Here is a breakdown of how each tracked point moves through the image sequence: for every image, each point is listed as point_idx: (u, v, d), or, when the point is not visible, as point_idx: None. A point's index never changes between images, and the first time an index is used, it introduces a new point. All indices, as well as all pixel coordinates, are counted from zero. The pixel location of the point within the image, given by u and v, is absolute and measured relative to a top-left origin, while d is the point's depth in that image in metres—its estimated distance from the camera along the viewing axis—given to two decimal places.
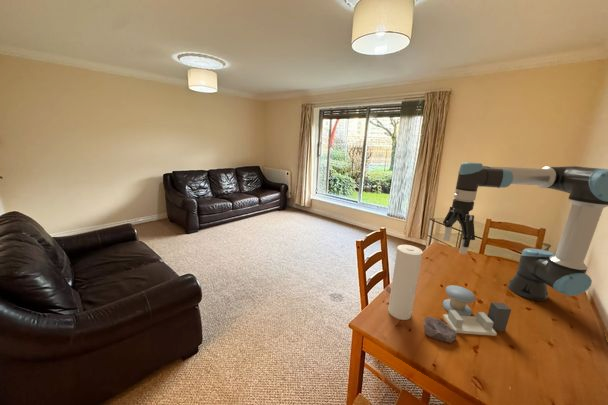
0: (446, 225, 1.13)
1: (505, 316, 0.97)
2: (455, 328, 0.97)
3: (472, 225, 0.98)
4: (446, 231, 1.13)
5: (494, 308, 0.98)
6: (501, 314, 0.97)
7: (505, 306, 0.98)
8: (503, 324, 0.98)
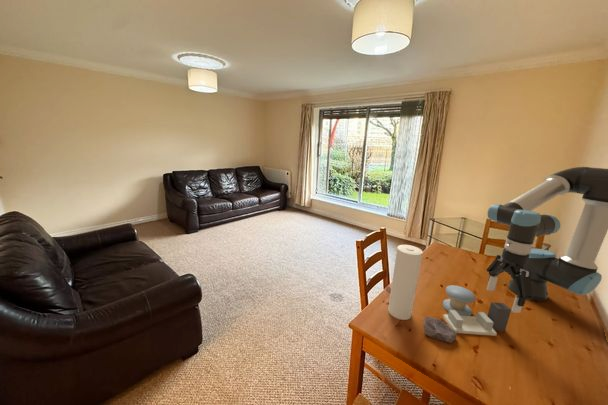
0: (491, 274, 1.02)
1: (505, 316, 0.97)
2: (455, 328, 0.97)
3: (529, 283, 0.87)
4: (491, 281, 1.03)
5: (494, 308, 0.98)
6: (501, 314, 0.97)
7: (505, 306, 0.98)
8: (503, 324, 0.98)
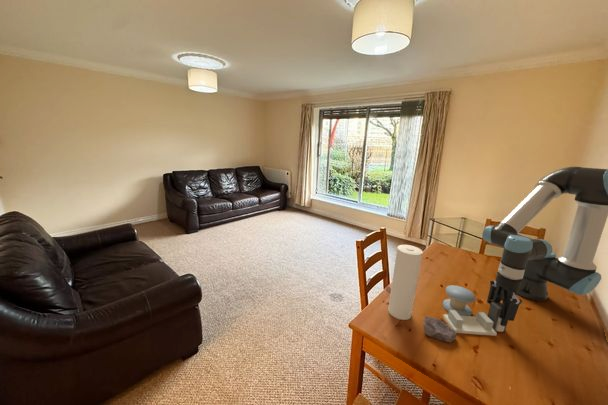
0: None
1: None
2: (455, 328, 0.97)
3: (516, 308, 0.92)
4: None
5: (494, 308, 0.98)
6: None
7: None
8: None
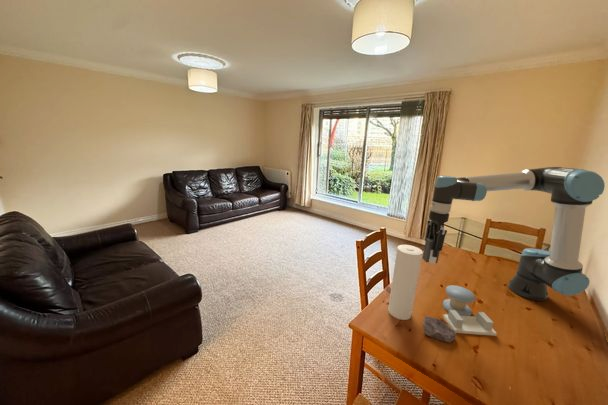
0: None
1: None
2: (455, 328, 0.97)
3: (443, 239, 1.04)
4: None
5: (427, 242, 1.11)
6: None
7: None
8: None
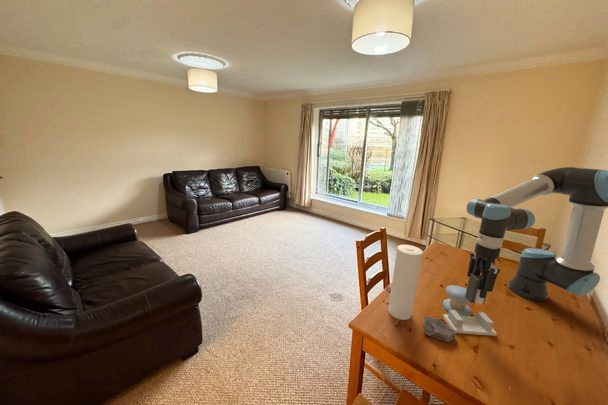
0: None
1: None
2: (455, 328, 0.97)
3: (494, 278, 0.89)
4: None
5: (473, 280, 0.95)
6: None
7: None
8: None
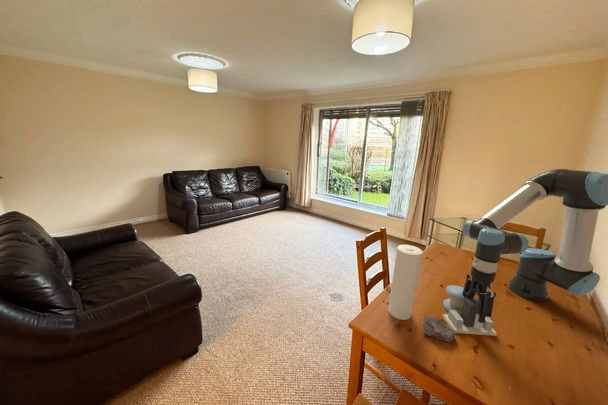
0: (466, 298, 1.01)
1: (478, 312, 0.97)
2: (455, 328, 0.97)
3: (491, 303, 0.90)
4: None
5: (467, 304, 0.98)
6: (474, 310, 0.96)
7: (478, 302, 0.98)
8: None
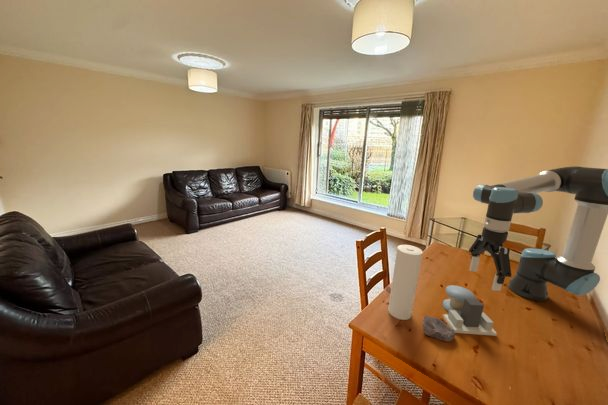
0: (473, 254, 1.02)
1: (478, 312, 0.97)
2: (455, 328, 0.97)
3: (507, 260, 0.86)
4: (473, 261, 1.02)
5: (467, 304, 0.98)
6: (474, 310, 0.96)
7: (478, 302, 0.98)
8: (476, 320, 0.98)
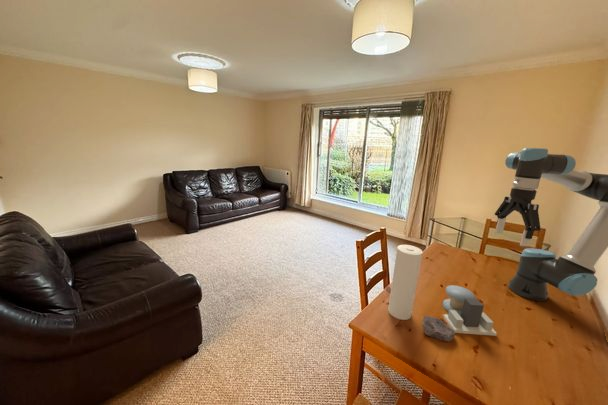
0: (499, 216, 1.06)
1: (478, 312, 0.97)
2: (455, 328, 0.97)
3: (537, 215, 0.91)
4: (499, 223, 1.07)
5: (467, 304, 0.98)
6: (474, 310, 0.96)
7: (478, 302, 0.98)
8: (476, 320, 0.98)
